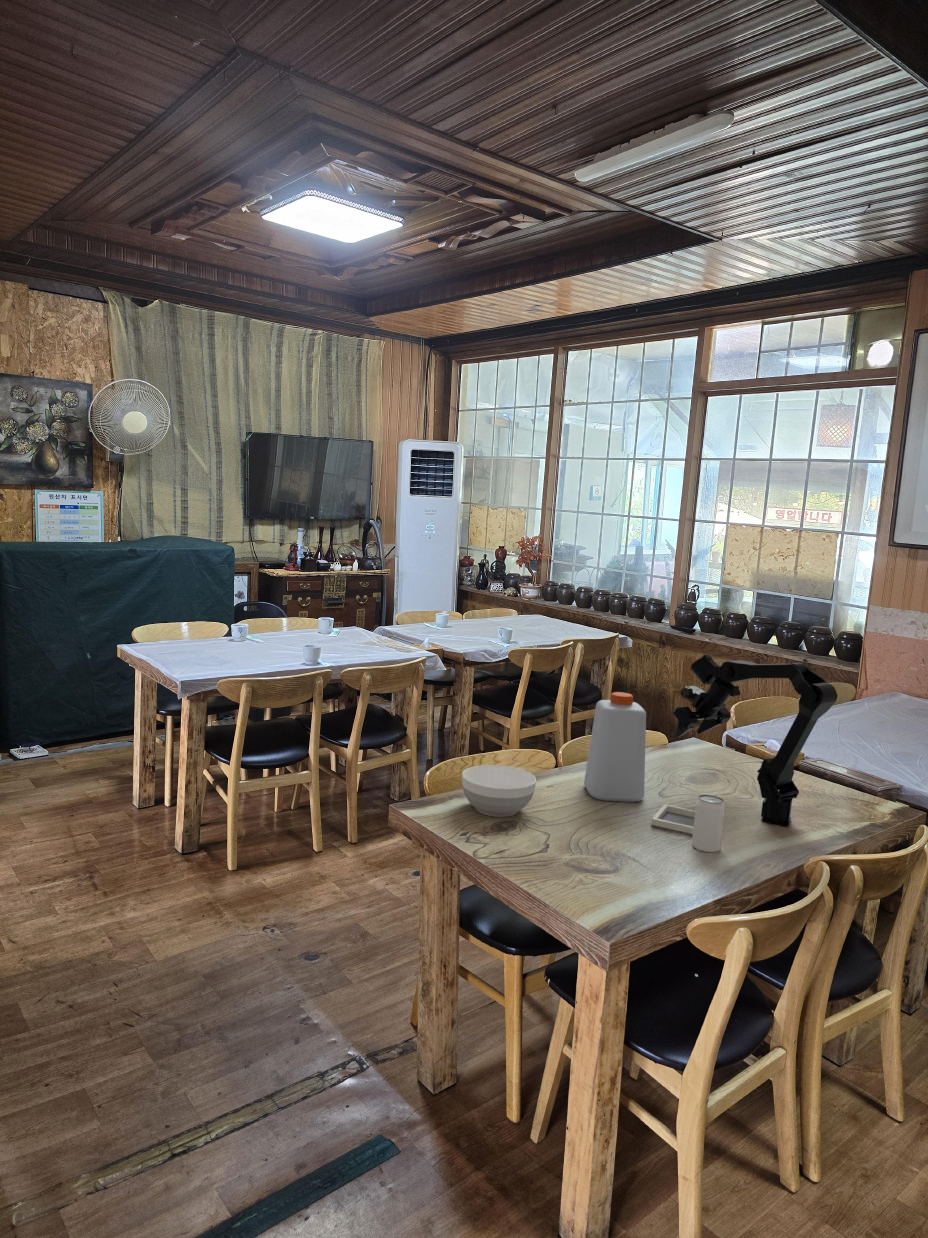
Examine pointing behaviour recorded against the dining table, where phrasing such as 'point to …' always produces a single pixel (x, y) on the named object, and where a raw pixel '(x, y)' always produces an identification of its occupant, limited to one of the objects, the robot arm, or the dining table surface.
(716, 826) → the can
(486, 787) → the bowl
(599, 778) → the plastic bottle
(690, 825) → the square tray
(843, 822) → the dining table surface
